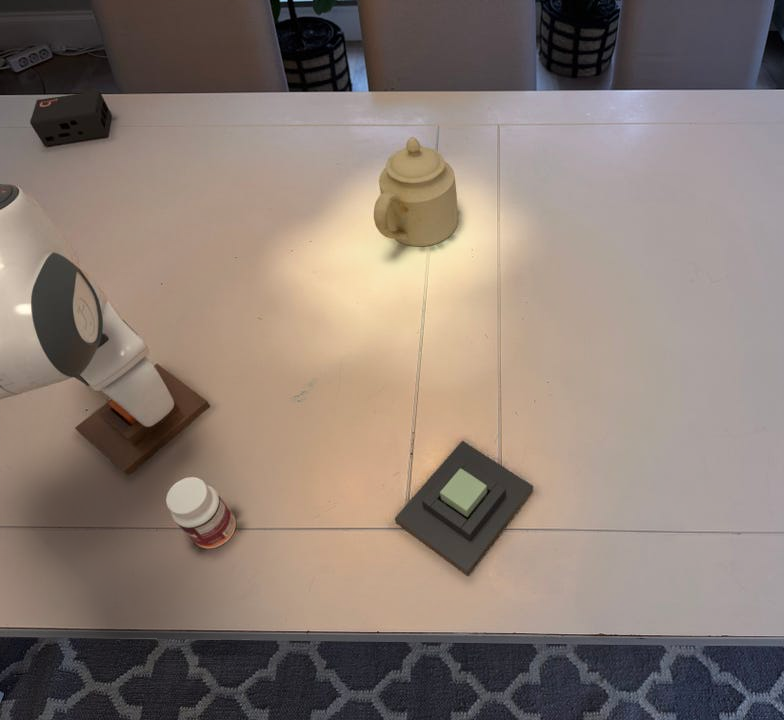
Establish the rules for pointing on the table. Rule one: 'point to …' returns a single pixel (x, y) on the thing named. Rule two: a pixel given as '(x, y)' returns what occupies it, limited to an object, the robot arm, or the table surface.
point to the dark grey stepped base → (451, 528)
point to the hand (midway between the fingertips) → (128, 400)
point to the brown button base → (141, 427)
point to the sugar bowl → (417, 197)
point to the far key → (123, 412)
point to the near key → (463, 492)
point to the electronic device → (71, 118)
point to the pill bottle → (200, 512)
